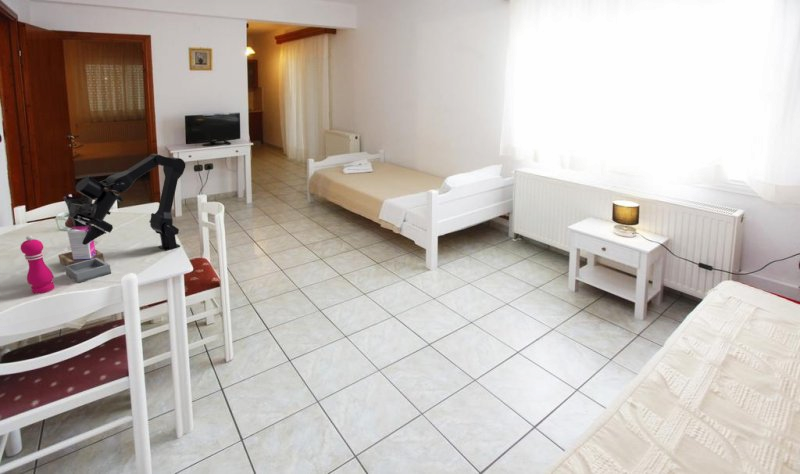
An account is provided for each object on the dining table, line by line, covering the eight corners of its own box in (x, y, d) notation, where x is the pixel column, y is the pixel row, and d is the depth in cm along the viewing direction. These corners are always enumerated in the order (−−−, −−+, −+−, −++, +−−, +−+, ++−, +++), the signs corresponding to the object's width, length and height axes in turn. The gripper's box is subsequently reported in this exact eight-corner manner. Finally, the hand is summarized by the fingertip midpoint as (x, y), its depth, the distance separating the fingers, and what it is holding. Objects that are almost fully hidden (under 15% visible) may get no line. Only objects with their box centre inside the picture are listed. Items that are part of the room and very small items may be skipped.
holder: (104, 261, 184) (102, 253, 182) (71, 270, 175) (69, 262, 174) (92, 254, 190) (90, 246, 189) (60, 263, 181) (58, 254, 180)
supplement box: (91, 259, 168) (84, 230, 164) (73, 261, 167) (65, 231, 163) (97, 253, 174) (90, 225, 170) (79, 255, 172) (72, 226, 168)
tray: (111, 273, 173) (109, 264, 172) (78, 283, 165) (76, 274, 164) (98, 265, 180) (96, 257, 178) (66, 275, 171) (64, 266, 170)
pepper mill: (39, 285, 163) (24, 232, 156) (60, 284, 164) (47, 232, 157) (25, 294, 156) (9, 239, 149) (48, 294, 157) (33, 239, 150)
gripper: (68, 190, 170) (42, 227, 165) (97, 198, 161) (70, 236, 156) (95, 205, 179) (71, 240, 174) (123, 213, 170) (99, 250, 165)
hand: (77, 242), depth 167 cm, fingers closed on supplement box, 8 cm apart
